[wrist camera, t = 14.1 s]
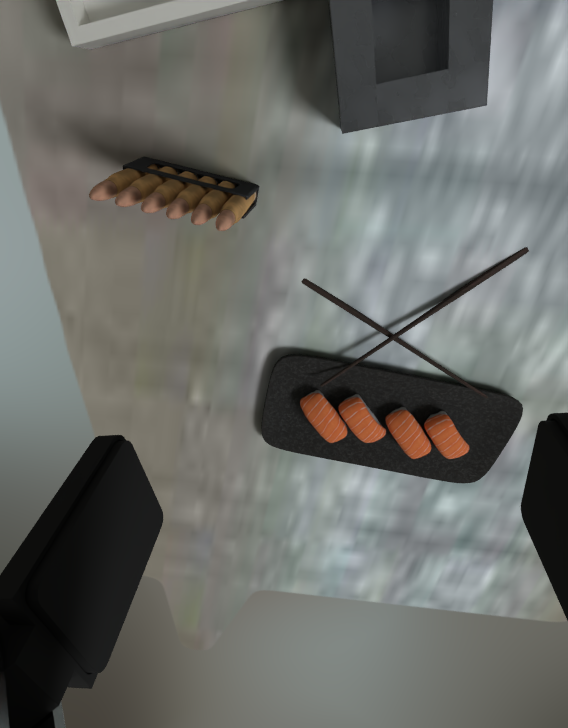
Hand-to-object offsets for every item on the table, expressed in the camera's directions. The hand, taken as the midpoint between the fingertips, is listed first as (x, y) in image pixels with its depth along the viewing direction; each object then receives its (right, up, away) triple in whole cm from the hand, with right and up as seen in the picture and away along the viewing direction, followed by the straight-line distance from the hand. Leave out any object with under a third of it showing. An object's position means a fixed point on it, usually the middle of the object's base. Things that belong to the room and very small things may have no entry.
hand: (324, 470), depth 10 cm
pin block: (+8, +27, +22) cm, 35 cm away
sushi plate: (+13, +3, +38) cm, 40 cm away
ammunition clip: (-9, +19, +29) cm, 36 cm away
